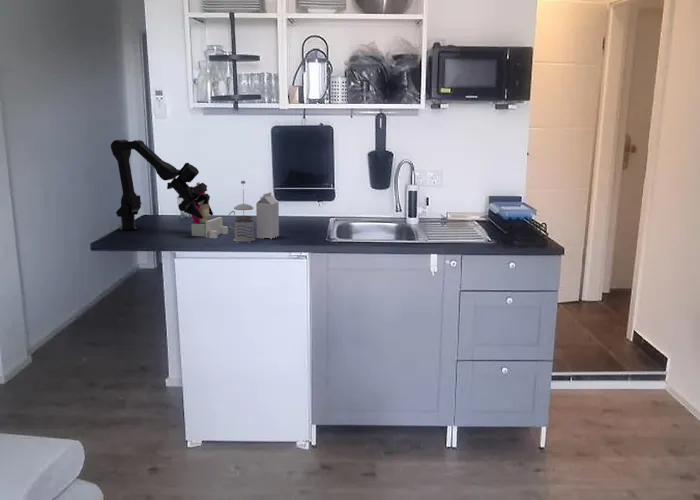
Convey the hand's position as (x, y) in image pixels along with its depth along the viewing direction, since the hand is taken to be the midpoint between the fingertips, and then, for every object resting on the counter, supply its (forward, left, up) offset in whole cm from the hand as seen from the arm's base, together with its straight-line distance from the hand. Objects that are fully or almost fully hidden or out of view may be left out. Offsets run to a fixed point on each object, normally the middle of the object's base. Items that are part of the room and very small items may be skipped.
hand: (207, 216), depth 274 cm
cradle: (-1, -1, -8) cm, 8 cm away
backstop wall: (+3, +3, -8) cm, 9 cm away
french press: (+17, +9, -8) cm, 21 cm away
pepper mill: (-26, +4, -8) cm, 27 cm away
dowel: (-1, -1, -7) cm, 8 cm away
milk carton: (+16, +21, -8) cm, 28 cm away
